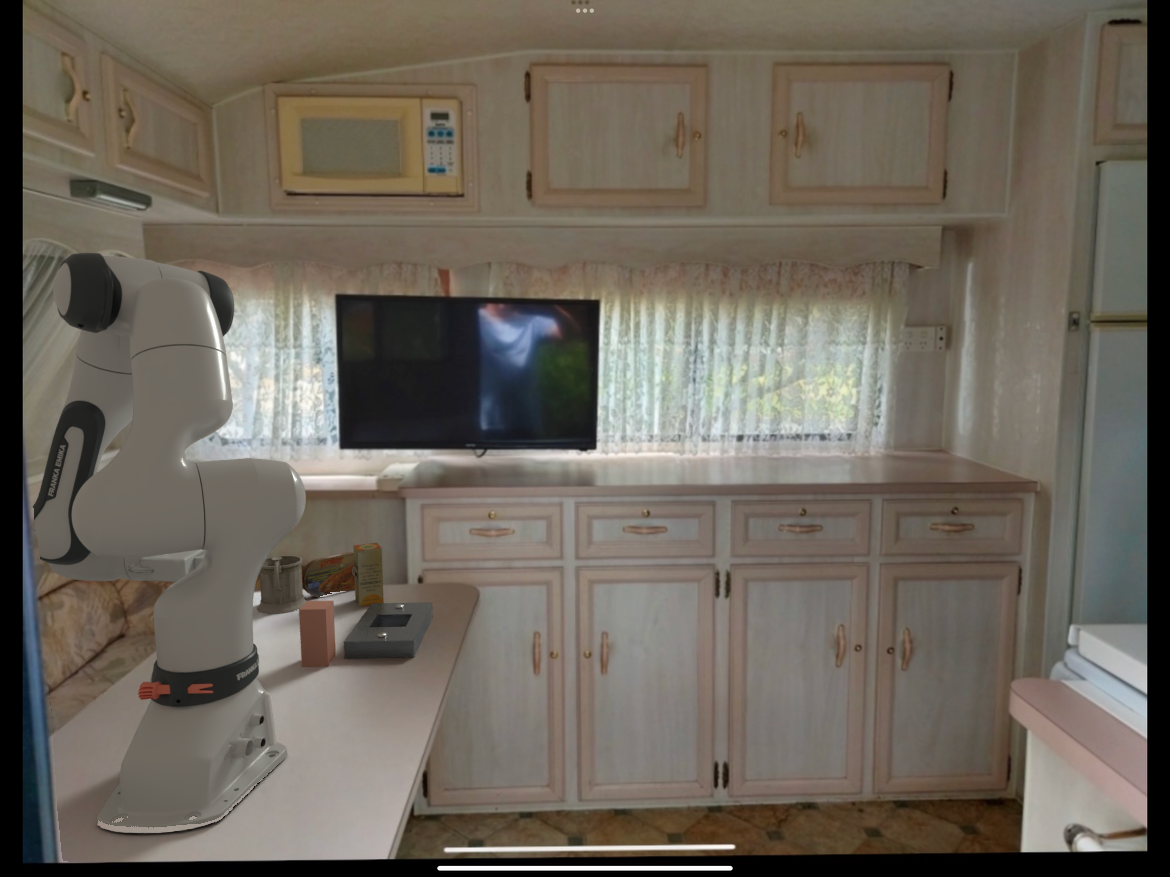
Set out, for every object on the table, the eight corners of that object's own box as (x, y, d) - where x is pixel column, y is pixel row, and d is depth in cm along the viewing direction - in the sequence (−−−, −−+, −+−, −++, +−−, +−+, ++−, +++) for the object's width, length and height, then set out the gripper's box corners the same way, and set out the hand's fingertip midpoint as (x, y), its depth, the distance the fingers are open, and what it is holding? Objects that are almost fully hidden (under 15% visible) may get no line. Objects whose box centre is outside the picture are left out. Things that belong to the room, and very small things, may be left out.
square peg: (328, 666, 125) (325, 609, 124) (301, 667, 125) (299, 609, 124) (335, 656, 130) (333, 600, 129) (310, 656, 130) (307, 600, 128)
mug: (259, 600, 159) (257, 546, 158) (308, 596, 162) (306, 542, 161) (251, 624, 145) (248, 564, 144) (304, 618, 148) (302, 560, 147)
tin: (305, 601, 159) (303, 563, 158) (299, 598, 161) (298, 560, 160) (371, 586, 169) (369, 550, 168) (364, 583, 171) (363, 547, 170)
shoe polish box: (378, 596, 162) (377, 542, 160) (383, 603, 157) (381, 547, 156) (355, 600, 159) (353, 545, 158) (359, 606, 155) (357, 550, 154)
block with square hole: (414, 657, 129) (413, 638, 129) (344, 658, 129) (343, 640, 128) (432, 616, 149) (432, 600, 149) (372, 617, 149) (371, 601, 148)
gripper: (119, 552, 114) (211, 551, 114) (185, 521, 134) (263, 520, 135) (122, 592, 114) (214, 591, 115) (187, 555, 135) (265, 554, 135)
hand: (241, 553), depth 125 cm, fingers open, 8 cm apart
